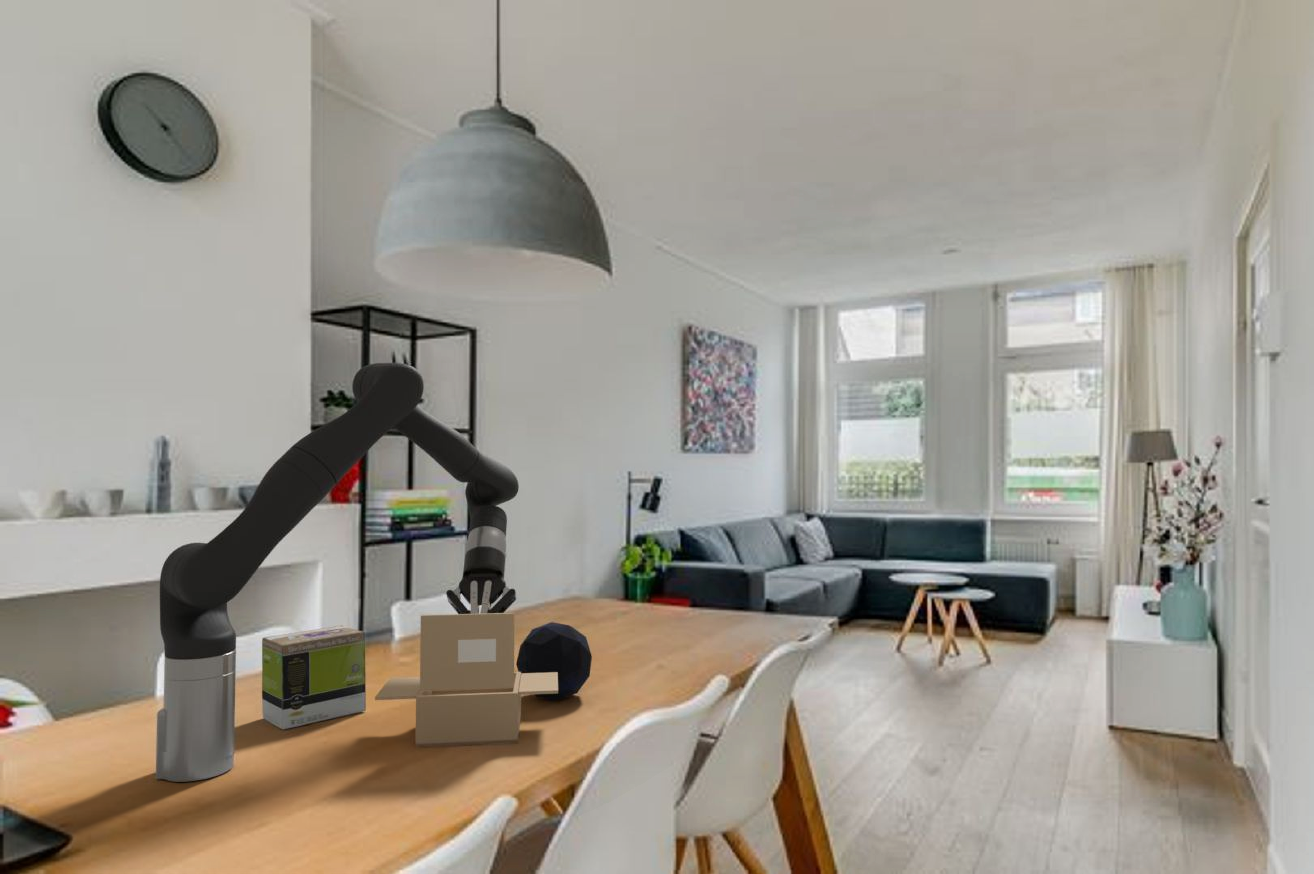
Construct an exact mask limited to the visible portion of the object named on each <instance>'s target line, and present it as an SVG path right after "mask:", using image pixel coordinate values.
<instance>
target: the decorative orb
mask: <svg viewBox="0 0 1314 874" xmlns="http://www.w3.org/2000/svg"><path fill="white" fill-rule="evenodd" d="M592 658H593V656H592V653H591V649H590V645H589V642H588V639H587V636H585V634H583V633H581V632H580V631H578V629H576V628H574V627H573V626H571V625H569V624H565V623H559V622H553V621H551V622H548V623H546V624H542V625H540V626H537V627H534V628H532V629H531V630H530V632H529V633H528V634H527V635H526V637H525V638H524V640H523V641H522V642H521V644H520V645H519V650H518V654H517V659H516V663H515V664H516V668H517V672H521V673H549V672H558V693H555V694H533V695H534V696H535V697H536V698H541V699H544V700H545V699H546V700H551V701H555V702H558V701H561V700H563V699H566V698H569V697H570V696H572V695H575V694H578V692H579V691H580V690H581V689H582V687H583V686H584V684H585V683H586V682H587V681H588V679H589V677H590V675H591V667H592V660H593V659H592Z"/></svg>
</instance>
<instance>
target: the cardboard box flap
mask: <svg viewBox="0 0 1314 874" xmlns="http://www.w3.org/2000/svg"><path fill="white" fill-rule="evenodd" d="M515 615H516V614H515V612H504V613H486V614H480V613H479V614H458V613H457V614H456V613H453V614H449V613H448V614H445V613H444V614H421V615H420V635H419V636H420V644H419V647H420V649H419V650H420V655H419V656H420V657H419V660H420V661H419V665H420V666H419V677H420V691H448V690H476V689H504V688H514V672H515V618H516V617H515Z"/></svg>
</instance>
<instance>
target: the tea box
mask: <svg viewBox="0 0 1314 874" xmlns="http://www.w3.org/2000/svg"><path fill="white" fill-rule="evenodd" d="M365 635H366V632H365V631H362V630H357V629H354V628H351V627H347V626H344V625H336V626H330V627H324V628H318V629H310V630H304V631H297V632H290V633H286V634H284V633H283V634H279V635H278V634H277V635H271V636H270V635H269V636H266V637H262V640H261V641H262V642H261V653H262V654H261V656H262V657H261V665H262V666H261V667H262V668H261V673H262V674H261V675H262V676H261V682H262V683H261V698H262V700H261V706H262V707H261V709H262V711H261V712H262V718H263V719H264V720H265V721H267V722H268V723H270V724H272V725H273V726H276V727H277V728H278V729H281V730H288V729H292V728H297V727H301V726H306V725H309V724H314V723H317V722H322V721H326V720H331V719H336V718H339V717H344V716H349V715H353V714H357V713H363V712H366V710H367V704H366V703H367V701H366V700H367V698H366V697H367V696H366V695H367V692H366V681H367V678H366V674H367V673H366V636H365Z"/></svg>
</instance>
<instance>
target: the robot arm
mask: <svg viewBox="0 0 1314 874" xmlns="http://www.w3.org/2000/svg"><path fill="white" fill-rule="evenodd" d="M424 385H425V384H424V379H423V376H422V375H421V373H420V371H418V369H416V368H415V366H411V365H409V364H406V363H401V362H376V363H370V364H367V365H365V366H364V365H363V366H362V367H361V368H360V369H359V370H358V371H357V372H356V373H355V375H354V377H353V380H352V393H353V398H354V400H355V401H356V403H355V404H354V405H353V406H352V407H351V408H350V409H348V410H346V411H345V412H344V413H343V414H341V415H339V416H338V417H336V418H334V419H333V420H331V421H329V422H327V423H325V424H323V425H322V426H319V427H318V428H316V429H315V430H313V431H311V432H310V433H308V434H307V435H305V436H303V437H302V438H301V439H300V440H297V442H296V443H294V444H293V445H292V446H291V447H289V449H287V451H286V452H285V453H284V454H282V456H281V457H279V459H277V460H276V461H275V462H274V463H273V464H272V466H270V468H269V469H268V470H267V472H265V473H264V476H263V478H262V479H261V480H260V482H259V483H258V486H257V487H256V489H255V491H254V493H253V494H252V497H251V499H249V502H248V504H247V505H246V507H245V508H244V509H243V510H242V512H241V513H239V515H238V516H237V517H236V518H235V519H234V520H233V521H232V522H231V523H230V524H228V525H227V526H226V527H225V528H224V529H223V530H222V531H220V532H219V533H218V534H217V535H216V536H215V537H214V538H212V539H210V540H209V541H208V542H207V543H206V542H191V543H187V544H186V543H185V544H184V545H181V546H179V547H178V548H175V549H174V550H173V551H172V552H171V553H170V554H169V555H168V556H167V558H165V561H164V563H163V564H162V568H161V571H160V577H159V578H160V579H159V629H160V635H161V637H162V640H163V645H164V653H163V654H164V666H163V667H164V668H163V670H164V671H163V672H164V673H163V675H164V676H163V708H161V709H159V710H158V712H157V713H156V736H155V738H156V740H155V741H156V742H155V746H156V747H155V780H166V781H168V782H176V783H177V782H183V783H184V782H193V781H194V782H195V781H202V780H206V779H211V778H212V777H213V778H214V777H216V776H217V777H218V776H220V775H222V774H224V773H226V772H228V771H230V770H231V769H232V768H233V767H234V766H235V765H234V764H235V728H236V727H235V723H236V722H235V721H236V720H235V719H236V718H235V717H236V713H235V712H236V674H237V673H236V669H237V668H236V665H237V664H236V663H237V659H236V658H237V657H236V655H237V649H236V648H237V635H236V631H235V629H234V627H233V625H232V623H231V621H230V619H229V614H228V603H229V602H230V601H232V600H233V599H234V598H236V596H237V595H238V594H239V593H240V592H241V591H242V590H243V588H244V587H246V585H247V584H248V582H249V581H250V579H251V578H252V577H253V575H255V573H256V571H257V570H258V569H259V568H260V567H261V565H262V564H263V563H264V562H265V560H266V559H267V558H268V557H269V555H270V554H271V553H272V552H273V550H274V549H275V548H276V547H277V545H278V544H280V543H281V541H282V540H283V539H284V538H285V537H286V536H287V535H289V533H290V532H291V531H293V530H294V528H296V526H298V524H300V523H301V522H302V520H304V518H305V517H306V516H308V515H309V513H310V512H311V511H312V510H313V509H314V508H315V507H316V506H318V504H320V502H322V501H323V499H324V498H326V496H327V495H328V494H329V493H330V492H331V491H332V490H333V489H334V488H335V487H336V486H337V485H338V483H339V482H340V481H341V480H342V479H343V477H345V475H346V474H347V473H348V472H349V471H350V470H351V469H352V468H353V467H354V466H356V464H357V463H358V462H359V461H360V460H361V459H362V458H363V457H364V456H365V455H366V454H367V453H368V451H370V449H371V448H372V447H373V446H374V445H376V443H377V442H378V441H379V440H380V439H381V438H382V437H383V436H385V435H386V434H387V433H388V432H389V431H390V430H392V429H395V430H396V431H397V432H398V433H401V434H402V435H403V436H405V437H406V438H407V439H408V440H410V441H411V442H413V443H414V445H416V446H417V447H418V448H420V449H421V450H422V451H423V452H424V453H426V454H427V455H428V456H429V457H431V459H433V460H434V461H435V462H436V463H437V464H438V465H439V466H440V467H442V469H444V470H445V472H447V473H448V474H449V475H450V476H452V478H453V479H455V480H456V481H458V482H460V483H467V484H466V487H465V490H464V491H465V492H464V494H465V495H464V496H465V499H466V502H467V507H468V508H467V509H468V512H469V517H470V521H469V530H468V531H469V532H468V537H467V541H466V544H465V552H464V553H465V554H464V561H463V570H462V578H461V580H460V581H459V583H458V587H457V588H455V589H453V590H452V589H449V590H446V593H445V594H446V598H447V602H448V603H449V605H451V607H452V608H453V609H454V611H455V612H456V613H457V614H486V613H506V611H507V610H508V609H510V607H511V605H512V604H513V603H514V602H515V601H516V600H517V593H516V590H515V589H514V588H509V587H507V584H506V583H507V582H506V581H505V572H506V571H505V569H506V568H505V567H506V559H507V540H506V539H507V538H506V537H507V526H508V517H507V513H506V511H505V510H504V509H503V508H501V507H500V506H499V505H501V504H504V503H506V502H507V503H508V502H509V501H511V500H513V499H514V498H515V497H516V496H517V495H518V493H519V480H518V479H517V476H516V474H514V472H513V471H512V470H511V468H509V467H507V466H506V465H504V464H503V463H501V462H499V461H497V460H495V459H493V458H492V457H489V456H488V455H486V454H483V453H482V452H480V451H479V450H478V449H477V447H475V446H474V445H473V444H472V443H471V442H470V441H469V440H468V439H467V438H466V437H464V435H462V434H461V433H460V432H459V431H457V430H456V429H455V428H453V427H451V425H448V424H446V423H445V422H443V421H441V420H439V419H438V418H436V417H434V416H433V415H432V414H430V413H429V412H428V411H426V410H424V409H423V408H421V406H419V403H420V402H421V399H422V397H423V395H424V389H425V388H424V387H425V386H424ZM461 595H462V596H463V597H464V599H465V600H466V601H467V603H468V604H469V605H470V609H468V608H467V607H466V606H465V605H464V602H462V601H461V600H462V597H461ZM500 597H501V598H500ZM499 598H500V599H499ZM498 599H499V600H498ZM497 600H498V601H497ZM495 602H496V603H495ZM494 603H495V604H494ZM493 604H494V605H493ZM492 605H493V606H492ZM480 606H481V608H480Z"/></svg>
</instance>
